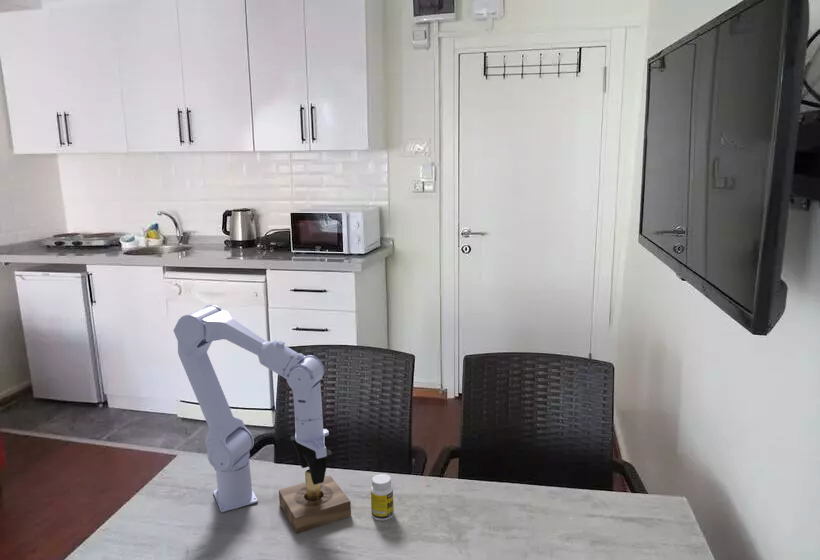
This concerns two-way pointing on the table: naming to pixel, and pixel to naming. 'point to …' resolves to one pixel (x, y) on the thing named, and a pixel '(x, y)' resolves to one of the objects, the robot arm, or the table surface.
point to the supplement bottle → (382, 497)
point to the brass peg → (312, 488)
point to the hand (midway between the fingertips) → (312, 474)
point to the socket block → (314, 505)
